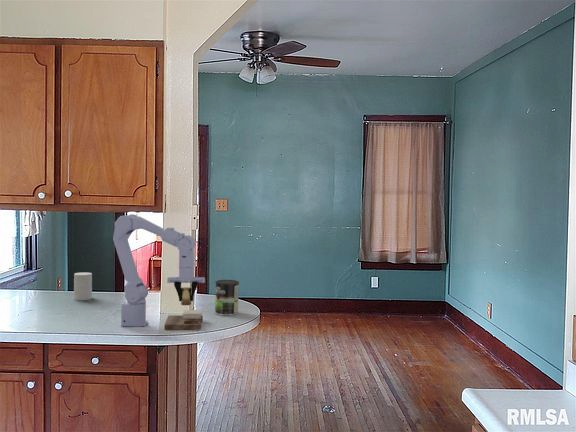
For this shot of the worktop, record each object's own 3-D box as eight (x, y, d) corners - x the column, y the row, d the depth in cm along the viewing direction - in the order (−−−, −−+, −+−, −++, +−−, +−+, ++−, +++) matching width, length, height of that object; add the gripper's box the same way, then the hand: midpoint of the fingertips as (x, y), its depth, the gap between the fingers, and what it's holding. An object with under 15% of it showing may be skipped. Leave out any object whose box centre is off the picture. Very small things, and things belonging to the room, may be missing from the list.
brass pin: (180, 305, 241) (180, 289, 241) (181, 303, 245) (181, 287, 245) (190, 305, 242) (190, 289, 241) (191, 303, 246) (191, 287, 245)
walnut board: (164, 329, 239) (164, 324, 239) (168, 320, 255) (168, 315, 255) (200, 329, 240) (200, 324, 240) (202, 320, 256) (202, 315, 256)
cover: (183, 318, 249) (183, 313, 249) (184, 314, 256) (184, 309, 256) (200, 318, 250) (200, 313, 250) (201, 314, 257) (201, 309, 256)
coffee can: (224, 317, 263) (225, 284, 262) (210, 312, 270) (210, 281, 269) (243, 313, 270) (243, 281, 269) (228, 309, 277) (229, 278, 277)
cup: (70, 299, 293) (70, 274, 292) (81, 296, 301) (80, 271, 300) (85, 300, 290) (85, 275, 290) (95, 297, 298) (95, 273, 297)
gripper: (166, 268, 238) (166, 302, 239) (204, 268, 239) (204, 302, 240) (168, 265, 245) (168, 299, 246) (205, 265, 246) (204, 299, 247)
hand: (186, 300), depth 243 cm, fingers closed on brass pin, 4 cm apart
